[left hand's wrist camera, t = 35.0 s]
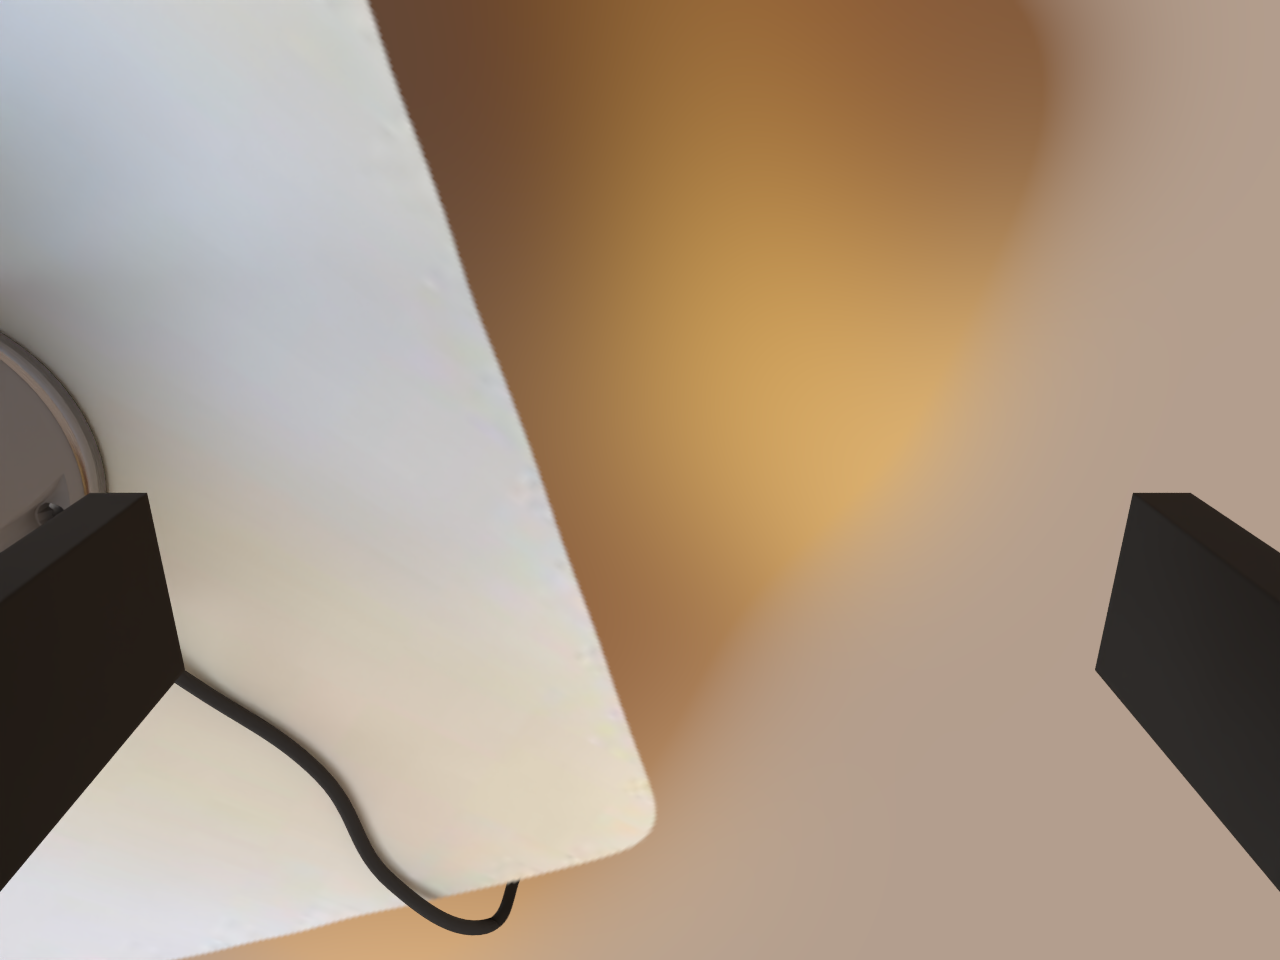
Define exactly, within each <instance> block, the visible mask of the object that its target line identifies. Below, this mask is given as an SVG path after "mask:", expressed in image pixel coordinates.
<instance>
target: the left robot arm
mask: <svg viewBox="0 0 1280 960" xmlns="http://www.w3.org/2000/svg"><path fill="white" fill-rule="evenodd" d="M1095 670H1096V672H1097V673H1098V674H1099V675H1100V676H1101V678H1102V679H1103V680H1104V681H1105V682H1106V684H1107V685H1108V686H1109V687H1110V688H1111V690H1112V691H1113V692H1114V693H1115V694H1116V696H1117V697H1118V698H1119V699H1120V700H1121V702H1122V703H1123V704H1124V705H1125V706H1126V708H1127V709H1128V710H1129V711H1130V712H1131V714H1132V715H1133V716H1134V717H1135V718H1136V720H1137V721H1138V722H1139V723H1140V724H1141V726H1142V727H1143V728H1144V729H1145V730H1146V732H1147V733H1148V734H1149V735H1150V736H1151V738H1152V739H1153V740H1154V741H1155V742H1156V744H1157V745H1158V746H1159V747H1160V748H1161V750H1162V751H1163V752H1164V753H1165V754H1166V756H1167V757H1168V758H1169V759H1170V760H1171V762H1172V763H1173V764H1174V765H1175V766H1176V768H1177V769H1178V770H1179V771H1180V772H1181V774H1182V775H1183V776H1184V777H1185V778H1186V780H1187V781H1188V782H1189V783H1190V784H1191V786H1192V787H1193V788H1194V789H1195V790H1196V792H1197V793H1198V794H1199V795H1200V796H1201V798H1202V799H1203V800H1204V801H1205V802H1206V804H1207V805H1208V806H1209V807H1210V808H1211V810H1212V811H1213V812H1214V813H1215V814H1216V816H1217V817H1218V818H1219V819H1220V820H1221V822H1222V823H1223V824H1224V825H1225V826H1226V828H1227V829H1228V830H1229V831H1230V832H1231V834H1232V835H1233V836H1234V837H1235V838H1236V840H1237V841H1238V842H1239V843H1240V844H1241V846H1242V847H1243V848H1244V849H1245V850H1246V852H1247V853H1248V854H1249V855H1250V856H1251V858H1252V859H1253V860H1254V861H1255V862H1256V864H1257V865H1258V866H1259V867H1260V868H1261V870H1262V871H1263V872H1264V873H1265V874H1266V876H1267V877H1268V878H1269V879H1270V880H1271V882H1272V883H1273V884H1274V885H1275V886H1276V888H1277V889H1278V890H1279V891H1280V553H1279V552H1278V551H1276V550H1275V549H1273V548H1272V547H1270V546H1269V545H1267V544H1266V543H1264V542H1263V541H1261V540H1260V539H1258V538H1257V537H1255V536H1254V535H1252V534H1251V533H1249V532H1248V531H1246V530H1245V529H1244V528H1242V527H1241V526H1239V525H1238V524H1236V523H1235V522H1233V521H1232V520H1230V519H1229V518H1227V517H1226V516H1224V515H1223V514H1221V513H1220V512H1218V511H1217V510H1215V509H1214V508H1212V507H1211V506H1209V505H1208V504H1206V503H1205V502H1203V501H1202V500H1200V499H1199V498H1197V497H1196V496H1194V495H1193V494H1191V493H1133V496H1132V500H1131V505H1130V509H1129V514H1128V519H1127V523H1126V528H1125V533H1124V537H1123V542H1122V547H1121V551H1120V556H1119V561H1118V565H1117V570H1116V575H1115V579H1114V584H1113V589H1112V593H1111V598H1110V603H1109V607H1108V612H1107V617H1106V621H1105V626H1104V631H1103V635H1102V640H1101V645H1100V649H1099V654H1098V659H1097V664H1096V668H1095ZM174 683H176V684H177V685H179V686H180V687H182V688H183V689H185V690H187V691H188V692H190V693H191V694H193V695H194V696H196V697H197V698H199V699H200V700H202V701H203V702H205V703H207V704H208V705H210V706H212V707H213V708H215V709H216V710H218V711H220V712H221V713H223V714H225V715H226V716H228V717H230V718H231V719H233V720H235V721H236V722H238V723H239V724H241V725H243V726H244V727H246V728H248V729H249V730H251V731H253V732H254V733H256V734H257V735H259V736H260V737H262V738H264V739H265V740H267V741H268V742H270V743H271V744H273V745H274V746H275V747H277V748H278V749H280V750H281V751H282V752H284V753H285V754H286V755H288V756H289V757H290V758H291V759H293V760H294V761H295V762H296V763H297V764H299V765H300V766H301V767H302V768H303V769H304V770H305V771H306V772H308V773H309V774H310V775H311V776H312V777H313V778H314V779H315V780H316V781H317V782H318V784H319V785H320V786H321V787H322V788H323V789H324V790H325V792H326V793H327V794H328V796H329V797H330V798H331V800H332V801H333V803H334V805H335V806H336V808H337V810H338V812H339V814H340V815H341V817H342V820H343V822H344V824H345V826H346V828H347V830H348V832H349V835H350V837H351V839H352V841H353V843H354V845H355V847H356V849H357V851H358V853H359V854H360V856H361V858H362V859H363V861H364V862H365V864H366V865H367V867H368V868H369V869H370V871H371V872H372V873H373V874H374V875H375V877H376V878H377V879H378V880H379V881H380V882H381V883H382V884H383V885H384V886H385V887H386V888H387V889H389V890H390V891H391V892H392V893H393V894H394V895H396V896H397V897H398V898H399V899H400V900H402V901H403V902H404V903H405V904H407V905H408V906H409V907H410V908H412V909H413V910H414V911H416V912H417V913H419V914H420V915H421V916H423V917H424V918H426V919H428V920H429V921H431V922H432V923H434V924H436V925H438V926H440V927H442V928H444V929H447V930H449V931H452V932H455V933H459V934H464V935H482V934H487V933H490V932H492V931H494V930H496V929H498V928H499V927H501V926H502V925H503V924H504V923H505V921H506V920H507V918H508V916H509V914H510V912H511V909H512V906H513V903H514V899H515V895H516V892H517V888H518V884H519V882H520V879H519V880H516V881H511V882H508V883H507V884H506V888H505V891H504V895H503V898H502V901H501V904H500V906H499V908H498V910H497V912H496V913H495V914H494V915H493V916H492V917H491V918H488V919H484V920H465V919H461V918H457V917H454V916H452V915H450V914H447V913H445V912H443V911H442V910H440V909H438V908H436V907H435V906H433V905H432V904H430V903H429V902H427V901H426V900H424V899H423V898H422V897H420V896H419V895H418V894H417V893H415V892H414V891H413V890H412V889H410V888H409V887H408V886H407V885H406V884H404V883H403V882H402V881H401V880H400V879H398V878H397V877H396V876H395V875H394V874H393V873H392V872H391V871H390V870H389V869H388V868H387V867H386V866H385V865H384V864H383V862H382V861H381V860H380V858H379V857H378V856H377V854H376V853H375V851H374V849H373V847H372V846H371V844H370V842H369V840H368V838H367V836H366V834H365V831H364V829H363V827H362V825H361V823H360V820H359V818H358V816H357V814H356V812H355V810H354V808H353V806H352V804H351V802H350V800H349V799H348V797H347V795H346V794H345V792H344V791H343V789H342V788H341V787H340V785H339V784H338V783H337V781H336V780H335V779H334V778H333V776H332V775H331V774H330V773H329V772H328V771H327V770H326V769H325V768H324V767H323V766H322V765H321V764H320V763H319V762H318V761H317V760H316V759H315V758H314V757H313V756H312V755H310V754H309V753H308V752H307V751H306V750H305V749H303V748H302V747H301V746H300V745H299V744H297V743H296V742H295V741H293V740H292V739H291V738H289V737H288V736H287V735H285V734H284V733H282V732H281V731H280V730H278V729H277V728H275V727H274V726H272V725H271V724H269V723H267V722H266V721H264V720H263V719H261V718H259V717H258V716H256V715H255V714H253V713H251V712H250V711H248V710H246V709H245V708H243V707H242V706H240V705H238V704H237V703H235V702H233V701H232V700H230V699H228V698H227V697H225V696H224V695H222V694H220V693H219V692H217V691H216V690H214V689H212V688H211V687H209V686H208V685H206V684H205V683H203V682H202V681H200V680H199V679H197V678H196V677H194V676H193V675H191V674H190V673H188V672H187V671H185V668H184V663H183V659H182V654H181V649H180V645H179V640H178V635H177V631H176V626H175V621H174V617H173V612H172V607H171V603H170V598H169V593H168V589H167V584H166V579H165V575H164V570H163V565H162V561H161V556H160V551H159V547H158V542H157V537H156V533H155V528H154V523H153V519H152V514H151V509H150V505H149V500H148V495H147V493H106V481H105V472H104V468H103V463H102V459H101V455H100V452H99V449H98V446H97V443H96V440H95V438H94V436H93V434H92V431H91V429H90V427H89V425H88V423H87V421H86V419H85V417H84V416H83V414H82V412H81V410H80V409H79V407H78V406H77V404H76V403H75V401H74V400H73V398H72V397H71V396H70V394H69V393H68V392H67V390H66V389H65V388H64V387H63V385H62V384H61V383H60V382H59V381H58V380H57V379H56V377H55V376H54V375H53V374H52V373H51V372H50V371H49V370H48V369H47V368H46V367H45V366H44V365H43V364H42V363H41V362H40V361H39V360H37V359H36V358H35V357H34V356H33V355H32V354H30V353H29V352H28V351H27V350H25V349H24V348H23V347H22V346H20V345H19V344H17V343H16V342H14V341H13V340H11V339H10V338H9V337H7V336H6V335H4V334H2V333H0V891H1V890H2V889H3V888H4V886H5V885H6V884H7V883H8V882H9V880H10V879H11V878H12V877H13V876H14V874H15V873H16V872H17V871H18V870H19V868H20V867H21V866H22V865H23V864H24V862H25V861H26V860H27V859H28V858H29V856H30V855H31V854H32V853H33V852H34V850H35V849H36V848H37V847H38V846H39V844H40V843H41V842H42V841H43V840H44V838H45V837H46V836H47V835H48V834H49V832H50V831H51V830H52V829H53V828H54V826H55V825H56V824H57V823H58V822H59V820H60V819H61V818H62V817H63V816H64V814H65V813H66V812H67V811H68V810H69V808H70V807H71V806H72V805H73V804H74V802H75V801H76V800H77V799H78V798H79V796H80V795H81V794H82V793H83V792H84V790H85V789H86V788H87V787H88V786H89V784H90V783H91V782H92V781H93V780H94V778H95V777H96V776H97V775H98V774H99V772H100V771H101V770H102V769H103V768H104V766H105V765H106V764H107V763H108V762H109V760H110V759H111V758H112V757H113V756H114V754H115V753H116V752H117V751H118V750H119V748H120V747H121V746H122V745H123V744H124V742H125V741H126V740H127V739H128V738H129V736H130V735H131V734H132V733H133V732H134V730H135V729H136V728H137V727H138V726H139V724H140V723H141V722H142V721H143V720H144V718H145V717H146V716H147V715H148V714H149V712H150V711H151V710H152V709H153V708H154V706H155V705H156V704H157V703H158V702H159V700H160V699H161V698H162V697H163V696H164V694H165V693H166V692H167V691H168V690H169V688H170V687H171V686H172V685H173V684H174Z"/></svg>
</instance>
